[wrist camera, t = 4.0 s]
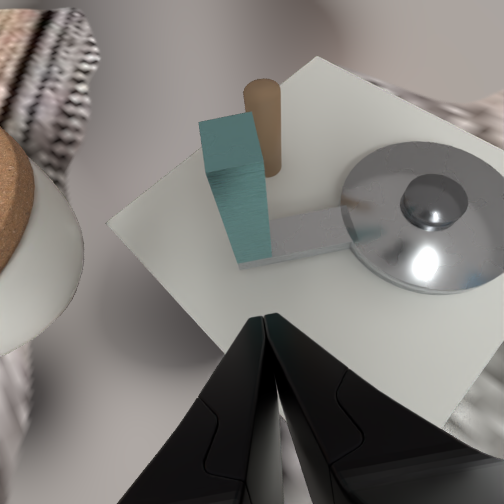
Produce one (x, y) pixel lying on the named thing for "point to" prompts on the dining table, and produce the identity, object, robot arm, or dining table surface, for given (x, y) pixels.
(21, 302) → the lidded bowl
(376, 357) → the clock board
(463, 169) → the flange plate
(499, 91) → the dining table surface
